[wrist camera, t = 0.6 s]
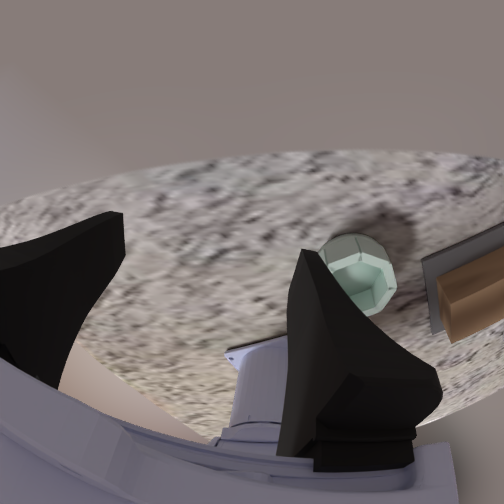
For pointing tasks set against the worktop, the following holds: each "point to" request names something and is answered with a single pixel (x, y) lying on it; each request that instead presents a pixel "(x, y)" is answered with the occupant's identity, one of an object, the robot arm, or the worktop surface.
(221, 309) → the worktop surface
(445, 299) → the cardboard brown block
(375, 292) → the bowl
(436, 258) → the mat
